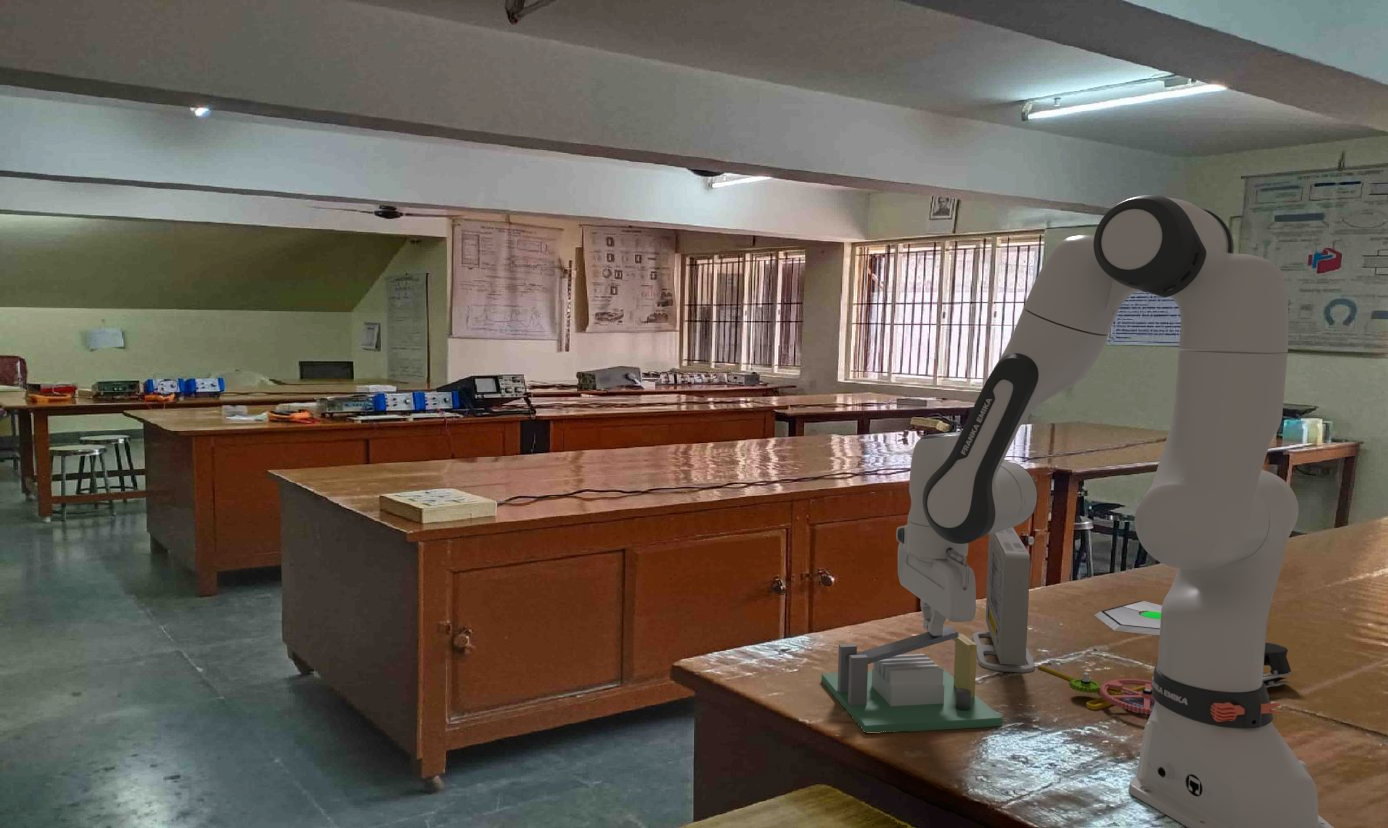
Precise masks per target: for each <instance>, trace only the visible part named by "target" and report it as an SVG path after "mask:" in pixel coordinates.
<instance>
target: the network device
mask: <svg viewBox="0 0 1388 828" xmlns="http://www.w3.org/2000/svg"><path fill="white" fill-rule="evenodd" d="M987 555H988V556H987V557H988V559H987V578H986V597H985V598H986V602H985V605H986V606H985V621H986V622H985V623H986V625H987V629H988V631H976V632H974V633H973V634H972V641H973V642H974V643H976V644H977V654H976V658H977V661H978V664H979V665H980V666H981V667H982V668H984V669H987V670H992V671H997V672H998V671H1001V672H1010V673H1011V672H1012V673H1013V672H1014V673H1029V672H1033V671H1034V670H1035V667H1036V666H1035V662H1034V660H1033V657H1032V655H1031V652H1030V651H1029V648H1028V646H1027V644H1028V641H1027V639H1028V620H1029V619H1028V618H1029V617H1028V616H1029V598H1030V597H1029V596H1030V595H1029V594H1030V575H1031V555H1030V553H1029V551H1028V549H1027V548H1026V546H1025V545H1024V543H1023V542H1022V540H1021V538H1020V536H1019V535H1018V533H1017V532H1016V530H1015V527H1012V528H1008V529H1005V530H1002V531H999V532H996V533H992V534H988V554H987ZM982 637H983V638H991V640H992V644H993V645H989V644H988V645H987V644H983V643H981V641H980V638H982ZM985 655H993V656H994V655H996V656H997V658H998V661H999V663H998V664H997V663H996V664H995V663H989V662H987V661H986V658H985Z"/></svg>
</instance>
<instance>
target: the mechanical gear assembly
mask: <svg viewBox="0 0 1388 828" xmlns="http://www.w3.org/2000/svg"><path fill="white" fill-rule="evenodd" d="M1037 669H1038V670H1041V671H1044V672H1046V673H1049V674H1051V675H1054V676H1056V677H1059V678H1062V679H1065V680H1068V681H1069V683H1068V686H1069V687H1070V689H1072V690H1075V691H1076V692H1077V691H1078V692H1081V693H1086V694H1093V693H1094V694H1096V693H1097V694H1099V695H1100V698H1099V697H1098V698H1095V699H1092V700H1089V701H1086V703H1085V708H1087V709H1089V710H1095V711H1096V710H1097V711H1098V710H1100V709H1104V708H1108V707H1110V706H1111V707H1112V706H1116V707H1117V708H1118V707H1120V708H1121V709H1124V710H1128V711H1129V712H1130V711H1132V712H1134V713H1135V712H1136V713H1140V714H1141V715H1142V714H1144V715H1149V716H1150V715H1151V712H1152V709H1153V707H1154V703H1155V699H1154V698H1153V696H1152V687H1153V686H1152V680H1146V679H1141V678H1139V679H1138V678H1122V677H1121V678H1117V679H1116V678H1114V679H1109V680H1106V681H1103V682H1101V683H1100V682H1099V681H1096V680H1092V679H1089V678H1090V673H1088V672H1084V673H1083V676H1082V678H1080V677H1079V678H1076V677H1072V676H1070V675H1067V674H1064V673H1062V672H1059V671H1056V670H1055V669H1051V668H1048V667H1046V666H1043V665H1038V666H1037ZM1123 685H1134V686H1135V685H1137V687H1133V688H1128V687H1125V686H1123Z"/></svg>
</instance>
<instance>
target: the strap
mask: <svg viewBox="0 0 1388 828" xmlns="http://www.w3.org/2000/svg"><path fill="white" fill-rule="evenodd" d="M958 634H959V632H958V631H957V630H956V629H954V628H953V627H952V626H950V625H947V626H943V633H942V635H941V636H933V635H931V634H930V633H929V632H928V631H925V632H923V633H920V634H915V635H913V636H909V637H905V638H903V639H900V640H899V639H898V640H896V641H892V642H889V643H886V644H883V645H880V646H876V647H872V648H869V649H865V650H863V651H860V652H857V653H855V654H852V655H866V656H867V657H868V665H871V664H874V662H877V661H880V660H884V659H887V658H890V657H894V656H897V655H905V654H906V653H907V654H908V653H910V652H913V651H917V650H920V649H924V648H926V647H930V646H934V645H937V644H940V643H943V642H947V641H950V640H953V639H954V638H957V637H959V635H958ZM849 655H850V654H849ZM849 655H847V656H846V660H847V661H848V662H849Z"/></svg>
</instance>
